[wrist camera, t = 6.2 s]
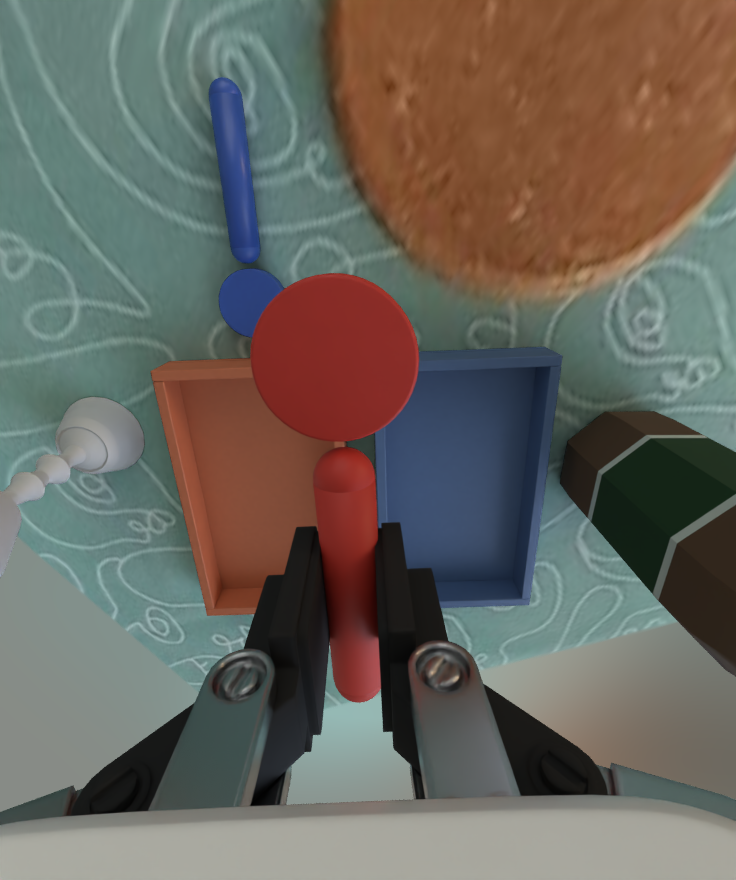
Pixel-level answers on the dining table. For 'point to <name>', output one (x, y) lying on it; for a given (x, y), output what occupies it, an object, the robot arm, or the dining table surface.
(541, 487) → the blue tray
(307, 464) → the terracotta tray
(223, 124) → the blue spoon
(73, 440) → the chalice
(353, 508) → the red spoon
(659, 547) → the beer bottle
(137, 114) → the dining table surface
